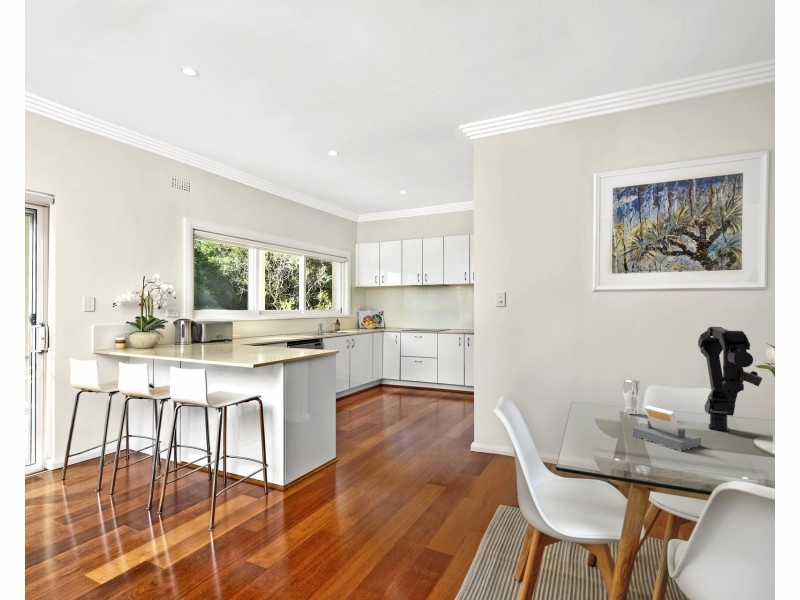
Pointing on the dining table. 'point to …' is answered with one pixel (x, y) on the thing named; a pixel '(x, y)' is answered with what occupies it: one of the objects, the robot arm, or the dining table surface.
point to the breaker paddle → (662, 419)
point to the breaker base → (668, 437)
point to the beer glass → (631, 395)
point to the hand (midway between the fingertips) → (732, 405)
